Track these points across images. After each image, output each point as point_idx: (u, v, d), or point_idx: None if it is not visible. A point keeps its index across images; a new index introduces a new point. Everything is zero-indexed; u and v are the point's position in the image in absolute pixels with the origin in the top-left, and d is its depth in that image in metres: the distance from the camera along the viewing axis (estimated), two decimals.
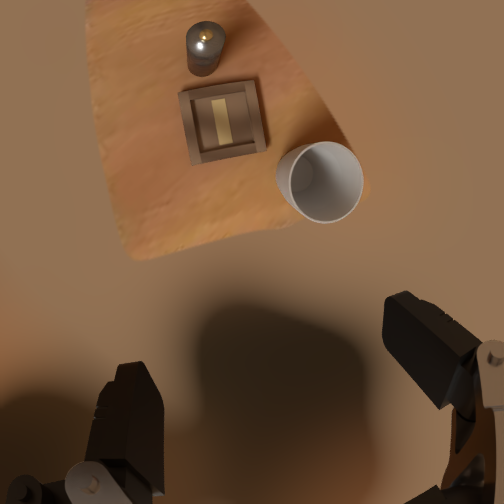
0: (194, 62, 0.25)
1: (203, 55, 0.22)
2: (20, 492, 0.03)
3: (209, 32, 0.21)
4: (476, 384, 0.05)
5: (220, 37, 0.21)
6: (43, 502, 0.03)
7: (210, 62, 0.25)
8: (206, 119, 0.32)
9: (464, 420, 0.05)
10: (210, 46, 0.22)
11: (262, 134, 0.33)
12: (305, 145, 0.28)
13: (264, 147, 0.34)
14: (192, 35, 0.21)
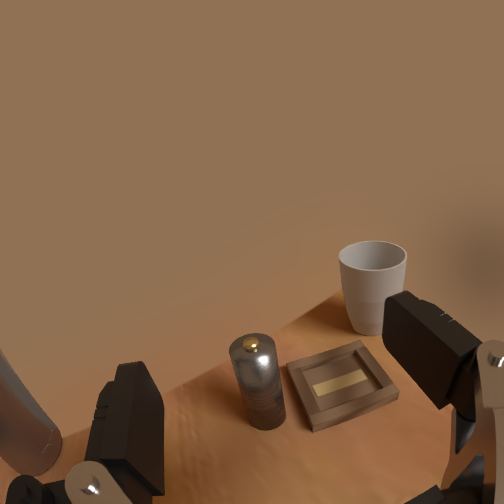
0: (278, 386, 0.23)
1: None
2: (21, 492, 0.03)
3: (247, 339, 0.22)
4: (476, 384, 0.05)
5: (252, 336, 0.23)
6: (43, 502, 0.03)
7: None
8: (341, 396, 0.26)
9: (464, 420, 0.05)
10: (265, 342, 0.22)
11: (344, 346, 0.31)
12: (348, 283, 0.31)
13: (357, 342, 0.31)
14: (249, 358, 0.21)
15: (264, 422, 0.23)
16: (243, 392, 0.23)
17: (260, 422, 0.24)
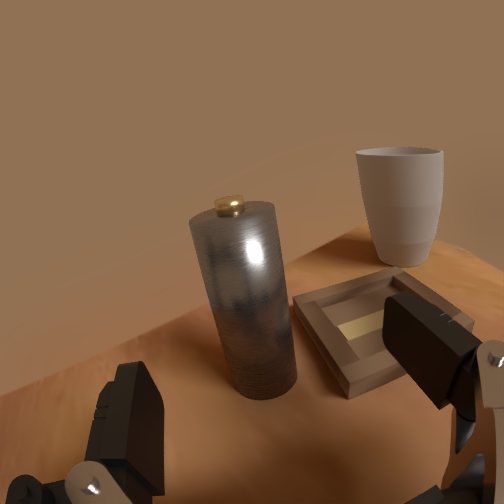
0: (282, 300, 0.13)
1: None
2: (21, 492, 0.03)
3: (223, 198, 0.12)
4: (476, 384, 0.05)
5: None
6: (43, 502, 0.03)
7: None
8: None
9: (464, 420, 0.05)
10: (256, 205, 0.13)
11: (376, 273, 0.21)
12: (373, 182, 0.22)
13: (393, 268, 0.21)
14: (225, 221, 0.11)
15: (259, 382, 0.14)
16: (217, 312, 0.13)
17: (252, 382, 0.14)
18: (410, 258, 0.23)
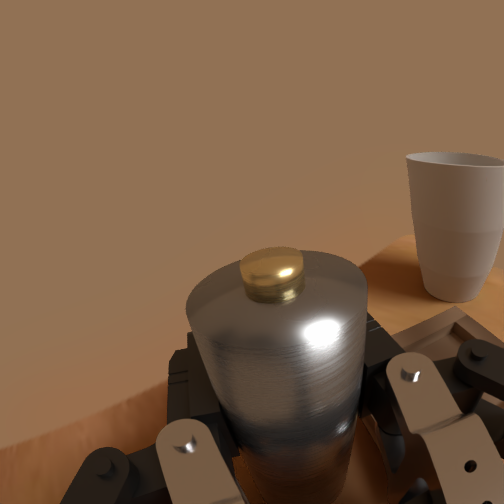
0: (354, 423, 0.06)
1: None
2: (102, 467, 0.04)
3: (258, 255, 0.06)
4: (394, 406, 0.05)
5: None
6: (130, 473, 0.04)
7: None
8: None
9: (391, 436, 0.06)
10: (323, 268, 0.06)
11: (435, 318, 0.15)
12: (434, 199, 0.15)
13: (452, 309, 0.15)
14: (271, 323, 0.05)
15: None
16: (243, 448, 0.06)
17: None
18: (466, 292, 0.17)
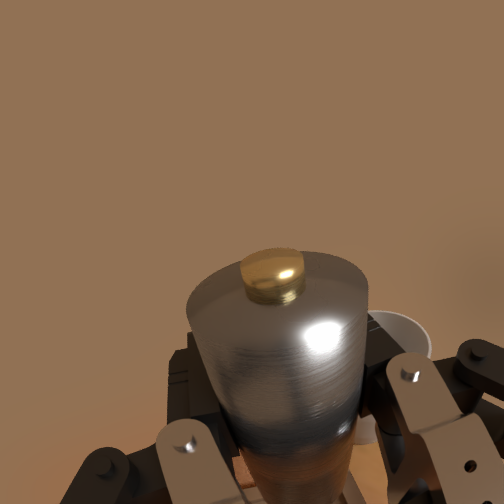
0: (355, 424, 0.06)
1: None
2: (102, 467, 0.04)
3: (259, 256, 0.06)
4: (394, 406, 0.05)
5: None
6: (130, 473, 0.04)
7: None
8: None
9: (391, 436, 0.06)
10: (324, 269, 0.06)
11: None
12: None
13: None
14: (271, 325, 0.05)
15: None
16: (244, 449, 0.06)
17: None
18: (366, 442, 0.19)
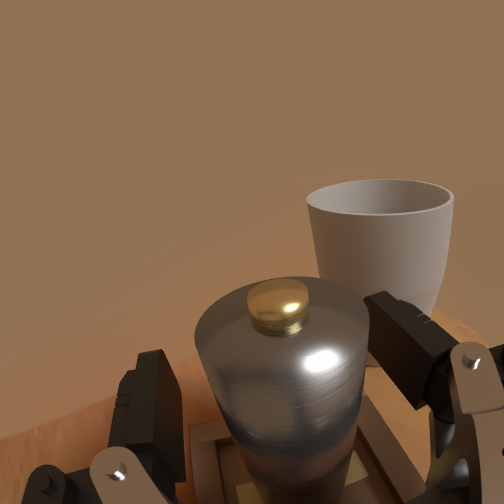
0: (353, 439, 0.06)
1: None
2: (42, 483, 0.03)
3: (265, 287, 0.06)
4: (452, 388, 0.05)
5: None
6: (66, 492, 0.03)
7: None
8: None
9: (442, 423, 0.05)
10: (327, 298, 0.06)
11: None
12: (329, 254, 0.14)
13: None
14: (277, 359, 0.05)
15: None
16: (248, 462, 0.06)
17: None
18: None
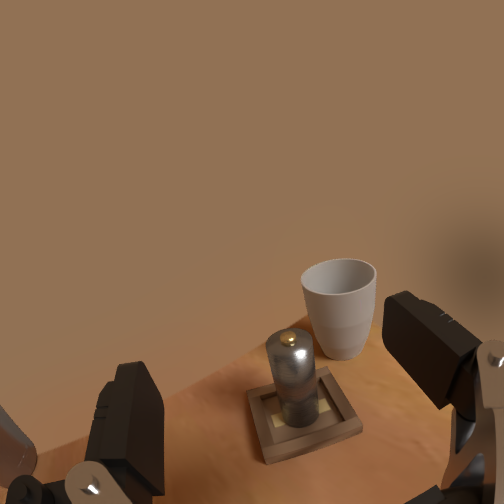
0: (314, 380, 0.22)
1: None
2: (20, 492, 0.03)
3: (284, 334, 0.22)
4: (476, 384, 0.05)
5: None
6: (43, 502, 0.03)
7: None
8: (300, 428, 0.23)
9: (464, 420, 0.05)
10: (301, 335, 0.22)
11: None
12: (311, 307, 0.30)
13: (323, 368, 0.29)
14: (288, 352, 0.21)
15: (299, 419, 0.23)
16: (279, 389, 0.22)
17: (295, 419, 0.23)
18: (343, 356, 0.31)
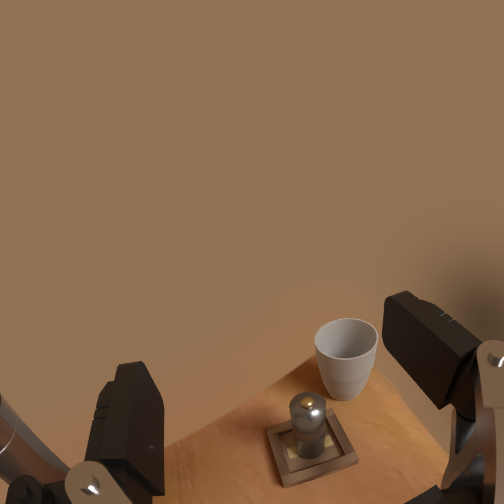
0: (324, 429, 0.27)
1: None
2: (21, 492, 0.03)
3: (304, 399, 0.26)
4: (476, 384, 0.05)
5: (306, 395, 0.27)
6: (43, 502, 0.03)
7: None
8: (309, 459, 0.28)
9: (464, 420, 0.05)
10: (317, 399, 0.26)
11: None
12: (322, 364, 0.34)
13: (328, 410, 0.34)
14: (307, 414, 0.25)
15: (310, 454, 0.27)
16: (297, 435, 0.26)
17: (307, 454, 0.27)
18: (345, 398, 0.35)
